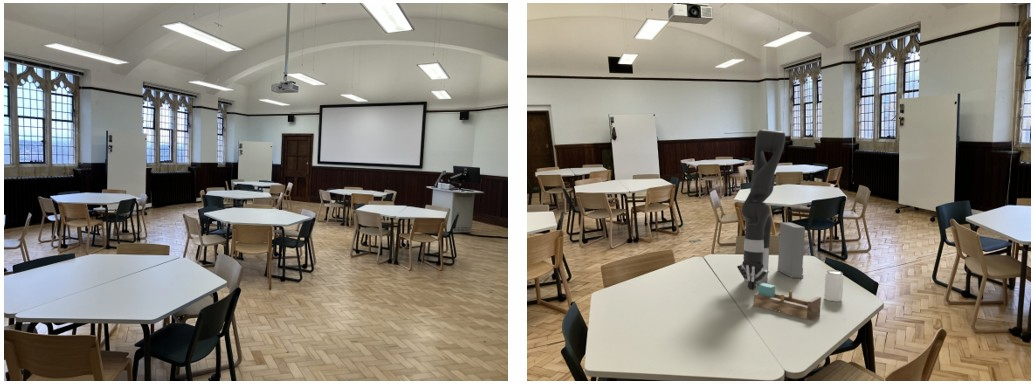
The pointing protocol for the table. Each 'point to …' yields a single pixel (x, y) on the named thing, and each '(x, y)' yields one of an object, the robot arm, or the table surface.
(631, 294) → the table surface
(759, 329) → the table surface
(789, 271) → the tall upright block
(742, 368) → the table surface
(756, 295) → the wooden tray
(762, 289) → the rider
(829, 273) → the can
